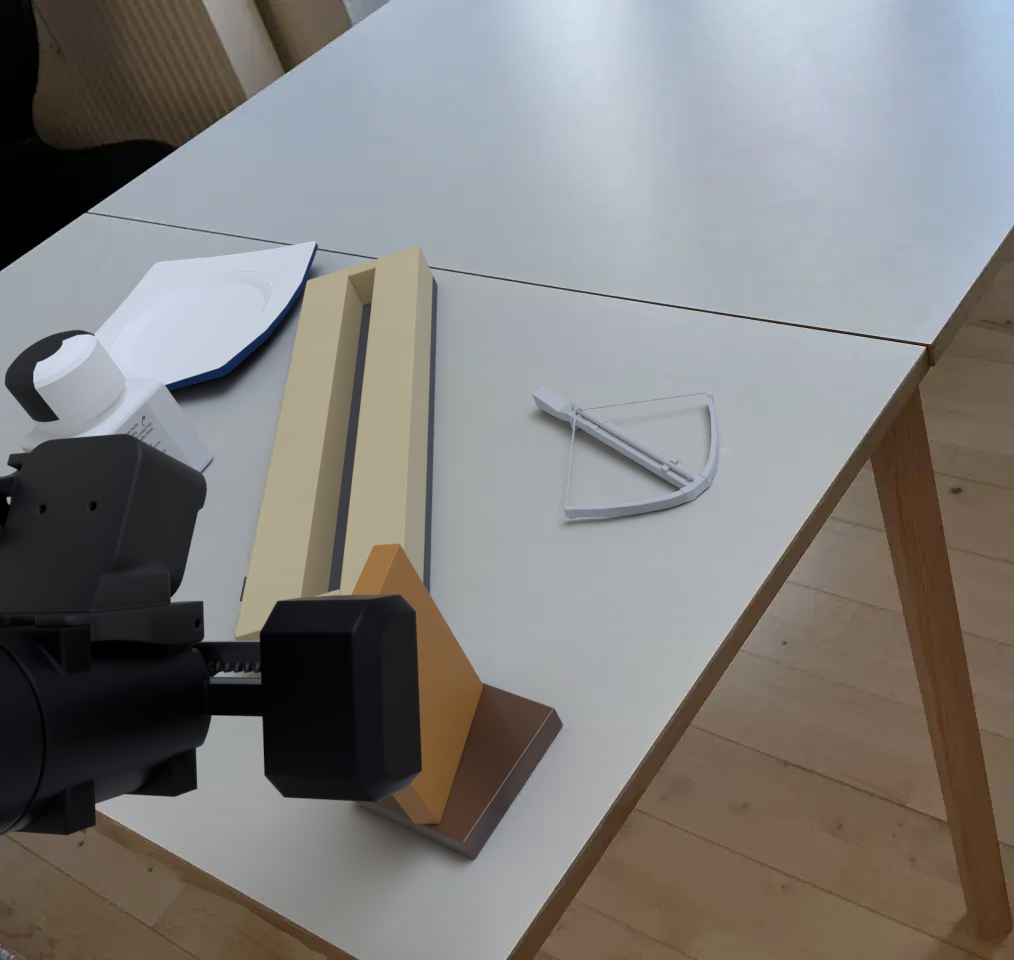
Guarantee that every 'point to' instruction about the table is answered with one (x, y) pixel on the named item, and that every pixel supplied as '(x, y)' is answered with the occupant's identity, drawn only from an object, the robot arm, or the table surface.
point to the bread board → (486, 770)
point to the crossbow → (632, 456)
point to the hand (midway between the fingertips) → (311, 657)
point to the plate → (204, 313)
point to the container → (97, 399)
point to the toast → (428, 683)
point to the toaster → (349, 437)
